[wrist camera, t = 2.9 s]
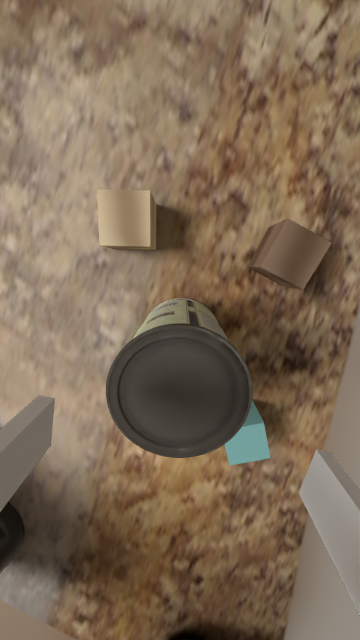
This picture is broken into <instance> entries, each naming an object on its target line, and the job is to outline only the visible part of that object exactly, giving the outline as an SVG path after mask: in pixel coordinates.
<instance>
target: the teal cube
mask: <svg viewBox="0 0 360 640" xmlns="http://www.w3.org/2000/svg"><path fill="white" fill-rule="evenodd" d="M225 448H226V452H227V456H228V461H229V465H235V464H240V463H246V462H251V461H257V460H262V459H267V458H270V453H269V448H268V442H267V437H266V431H265V426H264V422H263V420H262V418H261V416H260V414H259V412H258V410H257V408H256V406H255V404H254V402H253V400H252V404H251V408H250V411H249V414H248V417H247V419H246V421H245V423H244V424H243V426H242V427H241V429H240V430H239V431H238V432H237V434H236V435H235V436H234V437H233V438H232V439H231V440H229V441H228V442H227V443H225Z"/></svg>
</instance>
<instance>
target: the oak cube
mask: <svg viewBox="0 0 360 640" xmlns="http://www.w3.org/2000/svg"><path fill="white" fill-rule="evenodd" d="M97 204H98V223H99V242H100V246H104V247H108V248H112V249H125V250H156V203H155V200H154V198H153V196H152V194H151V192H150V191H145V190H97Z"/></svg>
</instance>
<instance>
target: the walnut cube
mask: <svg viewBox="0 0 360 640" xmlns="http://www.w3.org/2000/svg"><path fill="white" fill-rule="evenodd" d="M331 244H332V243H331V242H329V241H327V240H326V239H324V238H322V237H320V236H318V235H317V234H315V233H313V232H311V231H309V230H308V229H306V228H304V227H302V226H300V225H299V224H297V223H295V222H293V221H291V220H290V219H288V218H287V219H285V220H283V221H281V222H279V223H277V224H275V225H273V226H271V227H269V228H268V230H267V232H266V233H265V235H264V237H263V239H262V241H261V243H260V244H259V246H258V248H257V250H256V252H255V253H254V255H253V257H252V259H251V261H250V263H249V264H248V266H247V267H248V268H250V269H252V270H254V271H256V272H257V273H259V274H261V275H263V276H265V277H267V278H269V279H271V280H273V281H275V282H276V283H278V284H280V285H282V286H287V287H292V288H298V289H304V287H305V286H306V284H307V283H308V281H309V279H310V278H311V276H312V274H313V273H314V271H315V270H316V268H317V266H318V265H319V263H320V261H321V260H322V258H323V257H324V255H325V253H326V252H327V250H328V249H329V247H330V245H331Z"/></svg>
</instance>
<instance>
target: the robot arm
mask: <svg viewBox="0 0 360 640" xmlns="http://www.w3.org/2000/svg"><path fill="white" fill-rule="evenodd" d="M54 402H55V398H50V397H45V396H40V395H39V396H38V397H37V398H36V399H34V400H33V401H32V402H31V403H30V404H29V405H28V406H26V407H25V408H24V409H23V410H22V411H21V412H20V413H18V414H17V415H16V416H15V417H14V418H13V419H12V420H10V421H9V422H8V423H7V424H6V425H5V426H4V427H2V428H1V429H0V573H1V572H2V571H3V570H4V569H5V568H6V566H7V565H8V564H9V563H10V561H11V560H12V558H13V557H14V555H15V553H16V552H17V550H18V548H19V547H20V545H21V543H22V540H23V536H24V529H23V525H22V522H21V519H20V517H19V516H18V514H17V513H16V511H15V510H14V509H13V508H12V507H11V506H10V505H9V504H8V501H9V500H10V499H11V497H12V496H13V495H14V493H15V492H16V491H17V489H18V488H19V487H20V485H21V484H22V483H23V481H24V480H25V479H26V477H27V476H28V475H29V474H30V472H31V471H32V470H33V468H34V467H35V466H36V464H37V463H38V462H39V460H40V459H41V458H42V456H43V455H44V454H45V452H46V451H47V450H48V448H49V447H50V446H51V437H52V425H53V414H54ZM299 494H300V496H301V498H302V500H303V502H304V504H305V507H306V509H307V511H308V513H309V515H310V517H311V519H312V521H313V523H314V525H315V526H316V529H317V531H318V533H319V535H320V537H321V539H322V541H323V543H324V545H325V547H326V549H327V551H328V553H329V555H330V557H331V559H332V561H333V563H334V565H335V567H336V569H337V571H338V573H339V575H340V577H341V579H342V581H343V583H344V585H345V587H346V589H347V591H348V593H349V595H350V597H351V599H352V601H353V603H354V605H355V607H356V610H357V611H358V614H359V616H360V489H359V488H358V486H357V485H356V484H355V482H354V481H353V480H352V479H351V477H350V476H349V475H348V473H347V472H346V471H345V470H344V468H343V467H342V466H341V464H340V463H339V462H338V461H337V459H336V458H335V457H334V455H333V454H332V453H331V452H326V451H321V450H316V452H315V454H314V457H313V459H312V462H311V464H310V467H309V469H308V472H307V474H306V477H305V479H304V481H303V484H302V486H301V489H300V491H299Z"/></svg>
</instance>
